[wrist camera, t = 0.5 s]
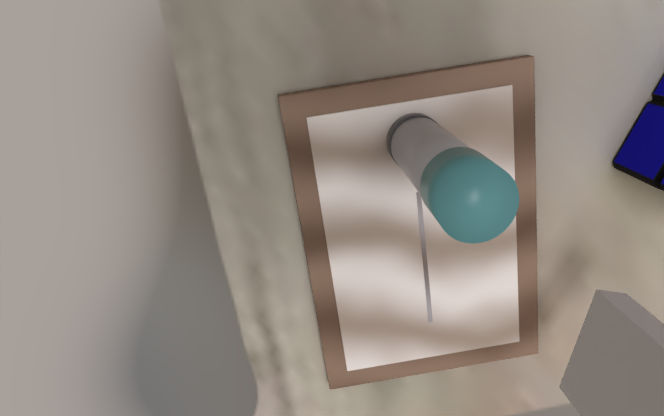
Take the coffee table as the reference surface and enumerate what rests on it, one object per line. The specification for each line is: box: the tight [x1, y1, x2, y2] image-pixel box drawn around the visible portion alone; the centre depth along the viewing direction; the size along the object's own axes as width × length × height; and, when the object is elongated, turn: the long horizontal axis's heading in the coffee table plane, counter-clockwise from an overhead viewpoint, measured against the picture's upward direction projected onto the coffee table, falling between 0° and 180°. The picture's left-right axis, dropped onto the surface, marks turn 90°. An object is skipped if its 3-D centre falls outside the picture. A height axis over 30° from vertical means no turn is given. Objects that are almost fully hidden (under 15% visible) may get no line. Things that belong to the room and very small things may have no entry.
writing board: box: [278, 55, 538, 389], centre depth 38 cm, size 22×16×1 cm
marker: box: [386, 113, 519, 244], centre depth 29 cm, size 4×4×12 cm
